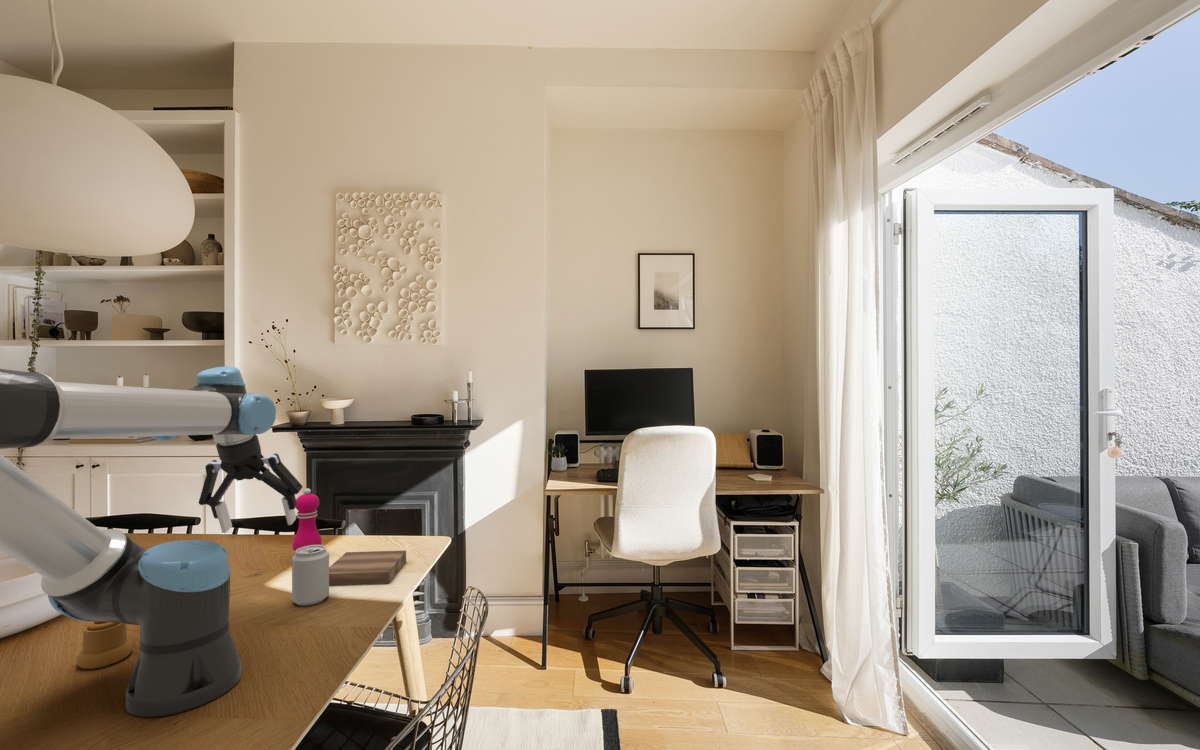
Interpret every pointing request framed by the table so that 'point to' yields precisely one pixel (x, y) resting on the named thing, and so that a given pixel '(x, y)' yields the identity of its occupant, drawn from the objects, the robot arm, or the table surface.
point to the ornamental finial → (103, 644)
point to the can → (310, 575)
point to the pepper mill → (307, 521)
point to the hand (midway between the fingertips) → (260, 525)
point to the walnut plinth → (366, 568)
